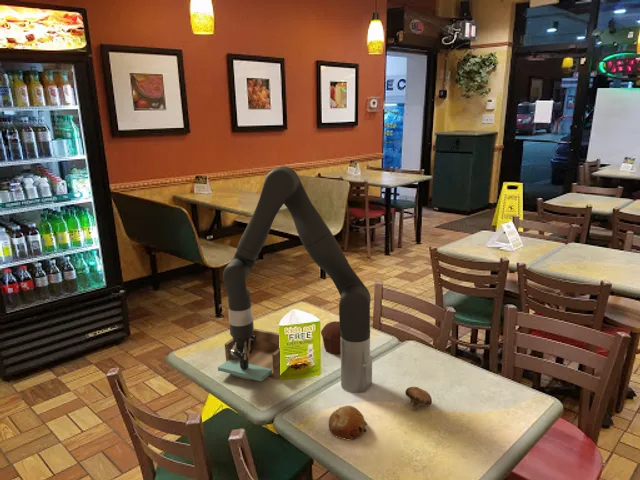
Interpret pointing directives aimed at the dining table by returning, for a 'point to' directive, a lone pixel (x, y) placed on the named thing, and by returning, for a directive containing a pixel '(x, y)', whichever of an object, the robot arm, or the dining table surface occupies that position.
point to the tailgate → (249, 373)
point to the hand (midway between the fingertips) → (244, 368)
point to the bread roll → (347, 423)
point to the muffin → (332, 337)
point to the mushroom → (418, 397)
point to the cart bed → (262, 351)
